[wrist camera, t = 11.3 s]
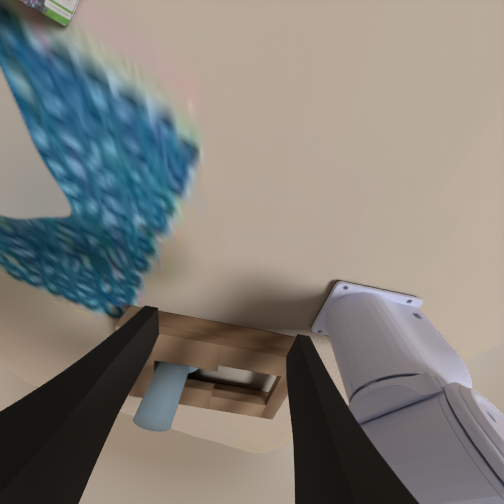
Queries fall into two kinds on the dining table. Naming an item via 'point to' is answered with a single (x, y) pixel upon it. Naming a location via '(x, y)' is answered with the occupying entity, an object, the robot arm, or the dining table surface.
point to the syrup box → (54, 9)
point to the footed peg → (162, 397)
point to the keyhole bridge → (217, 362)
